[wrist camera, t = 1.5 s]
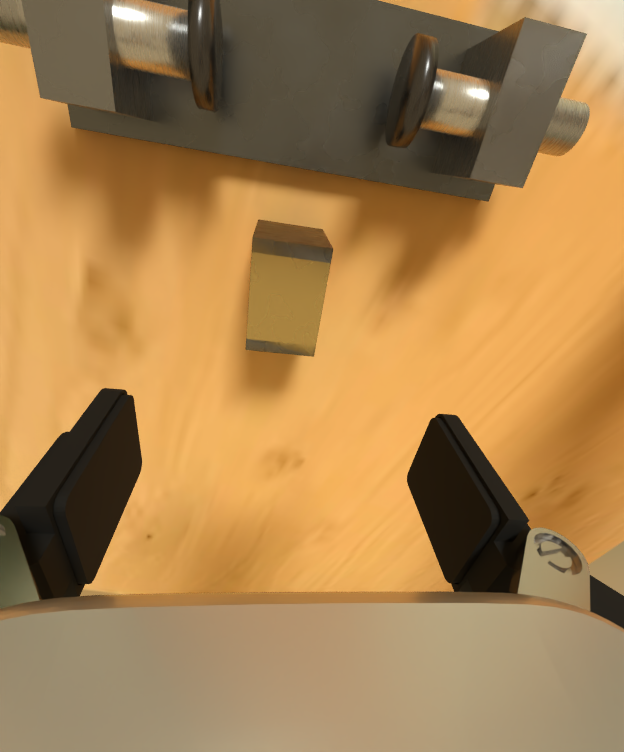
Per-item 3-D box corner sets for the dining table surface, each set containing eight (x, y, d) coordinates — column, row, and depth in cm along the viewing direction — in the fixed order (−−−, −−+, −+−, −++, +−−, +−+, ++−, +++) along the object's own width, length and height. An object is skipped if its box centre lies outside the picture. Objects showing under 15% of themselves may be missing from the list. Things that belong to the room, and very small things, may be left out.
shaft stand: (552, 52, 21) (654, 14, 15) (494, 202, 25) (557, 216, 19) (24, -82, 16) (-109, -203, 11) (61, 124, 21) (-21, 114, 15)
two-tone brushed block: (258, 219, 24) (252, 237, 19) (322, 229, 25) (333, 248, 20) (251, 314, 28) (245, 349, 23) (307, 320, 29) (313, 356, 23)
